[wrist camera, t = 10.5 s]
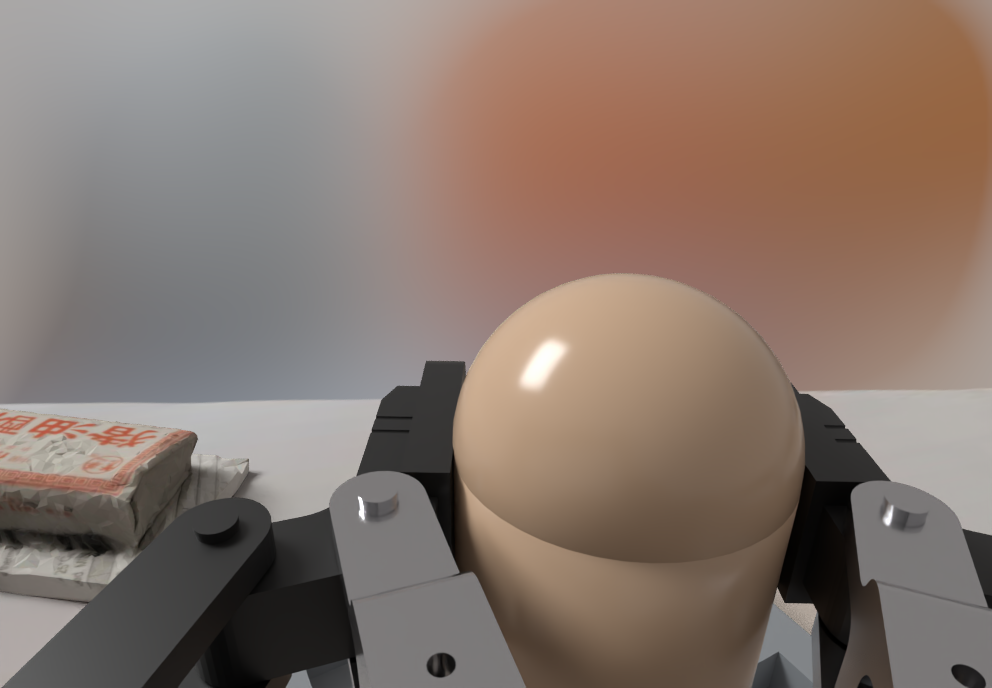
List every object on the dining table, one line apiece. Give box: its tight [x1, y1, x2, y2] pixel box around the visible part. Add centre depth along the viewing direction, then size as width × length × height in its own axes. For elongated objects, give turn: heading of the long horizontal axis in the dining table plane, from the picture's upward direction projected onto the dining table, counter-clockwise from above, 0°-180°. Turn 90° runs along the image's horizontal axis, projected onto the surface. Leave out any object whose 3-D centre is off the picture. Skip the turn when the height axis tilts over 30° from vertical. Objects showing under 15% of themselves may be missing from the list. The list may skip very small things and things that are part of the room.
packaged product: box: [0, 409, 249, 602], centre depth 33 cm, size 18×5×10 cm
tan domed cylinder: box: [453, 273, 805, 688], centre depth 11 cm, size 5×5×10 cm
